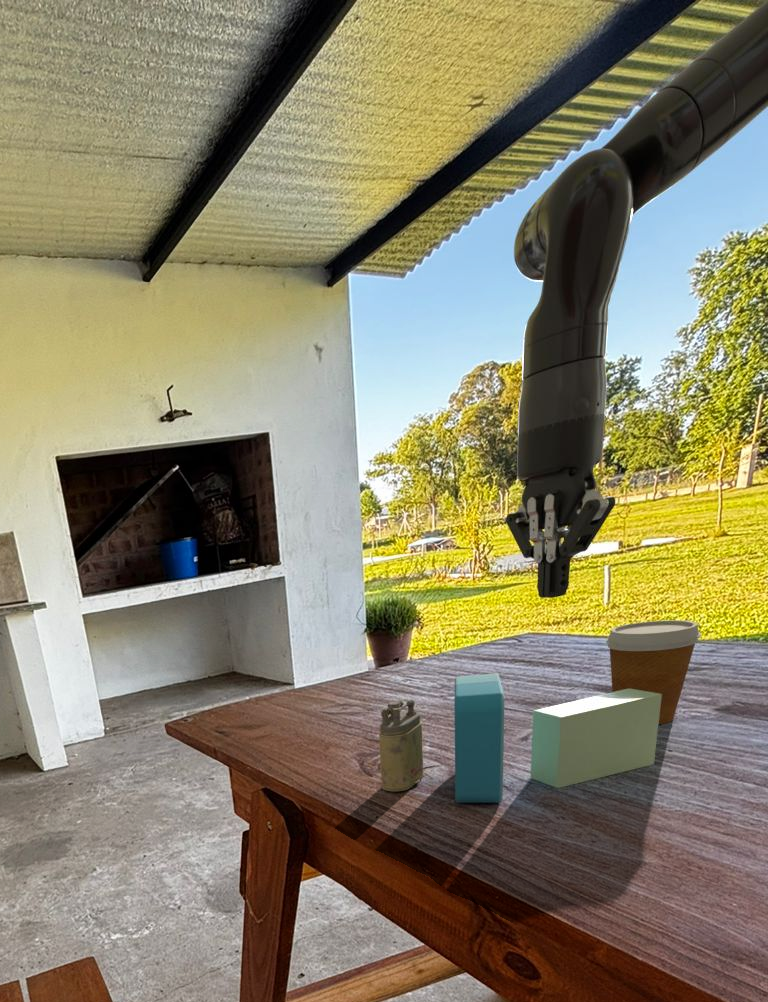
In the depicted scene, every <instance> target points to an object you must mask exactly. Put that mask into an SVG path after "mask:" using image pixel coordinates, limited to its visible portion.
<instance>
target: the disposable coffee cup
mask: <svg viewBox="0 0 768 1002" xmlns="http://www.w3.org/2000/svg"><path fill="white" fill-rule="evenodd" d="M698 625H699V624H698V623H697V622H696V621H691V620H684V619H683V620H681V619H679V620H678V619H674V620H671V619H670V620H669V619H668V620H667V619H666V620H651V621H641V622H640V621H639V622H633V623H626V624H622V625H618V626H615V627H613V628H611V630H610V632H609V634H608V637H607V638H605V643H606V644H607V648H608V649H609V660H610V673H611V691H612V692H616V691H620V690H624V689H635V690H641V691H647V692H653V693H659V694H662V698H661V706H660V715H659V724H658V725H664V724H667V723H670V722H672V721H673V720H674V719H675V715H676V711H677V708H678V704H679V701H680V697H681V694H682V692H683V688H684V683H685V680H686V676H687V674H688V670H689V667H690V663H691V659H692V656H693V651H694V647H695V645H696V644H697V643H698V641H699V639H701V636H702V633H701V632H700V631H699V626H698Z"/></svg>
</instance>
